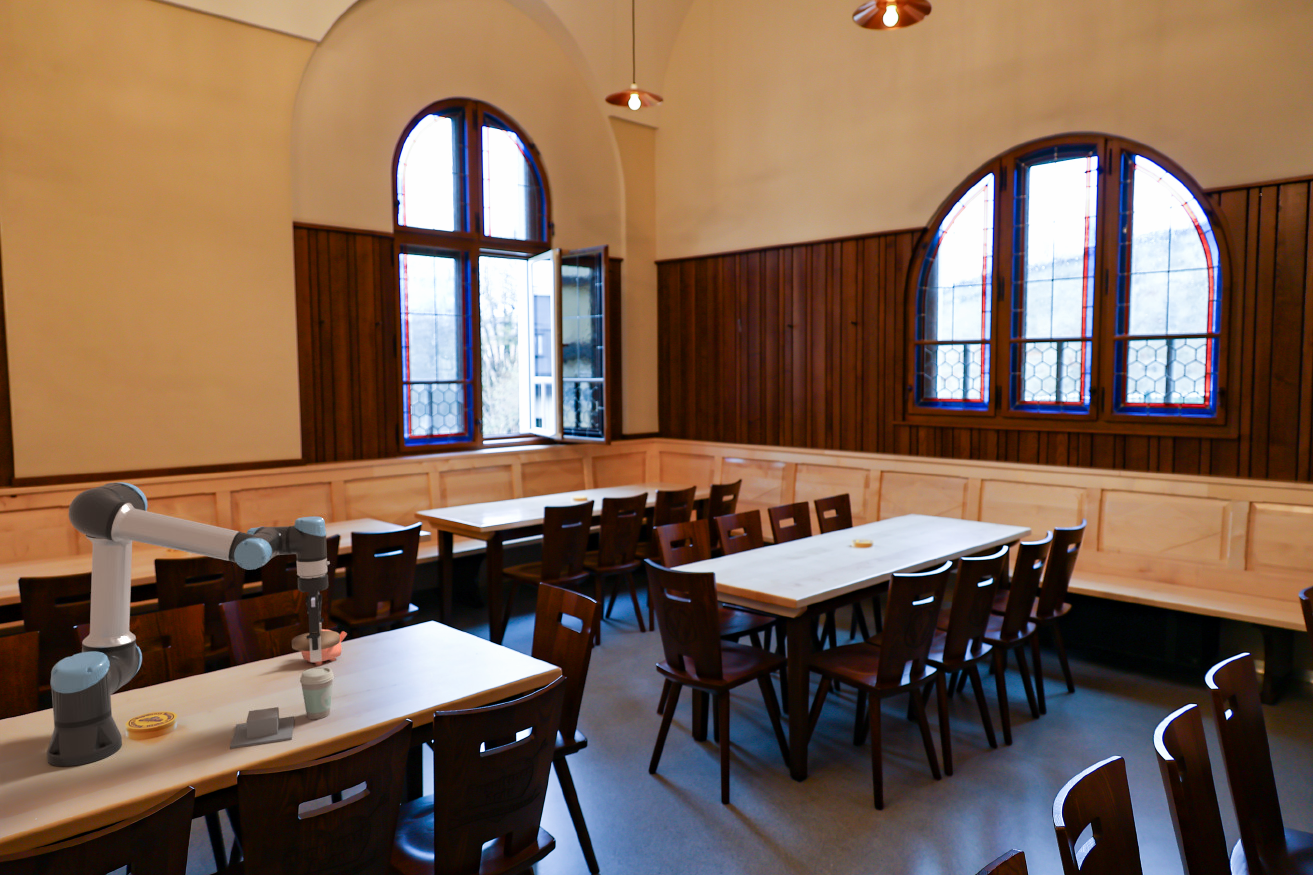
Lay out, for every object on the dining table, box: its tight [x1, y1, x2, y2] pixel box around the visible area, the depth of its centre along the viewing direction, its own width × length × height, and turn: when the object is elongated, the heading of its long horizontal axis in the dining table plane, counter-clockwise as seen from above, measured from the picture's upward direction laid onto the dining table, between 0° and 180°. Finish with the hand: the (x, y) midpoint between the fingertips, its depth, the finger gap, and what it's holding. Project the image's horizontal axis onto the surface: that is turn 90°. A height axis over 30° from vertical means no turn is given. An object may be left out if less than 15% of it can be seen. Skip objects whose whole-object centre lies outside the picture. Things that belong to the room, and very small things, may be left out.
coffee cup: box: [299, 666, 335, 720], centre depth 226 cm, size 9×8×12 cm
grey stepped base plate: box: [229, 706, 295, 750], centre depth 215 cm, size 14×14×5 cm
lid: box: [291, 630, 341, 652], centre depth 225 cm, size 12×12×3 cm
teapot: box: [300, 628, 348, 666], centre depth 269 cm, size 14×12×10 cm
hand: (316, 653), depth 225 cm, fingers closed on lid, 12 cm apart
